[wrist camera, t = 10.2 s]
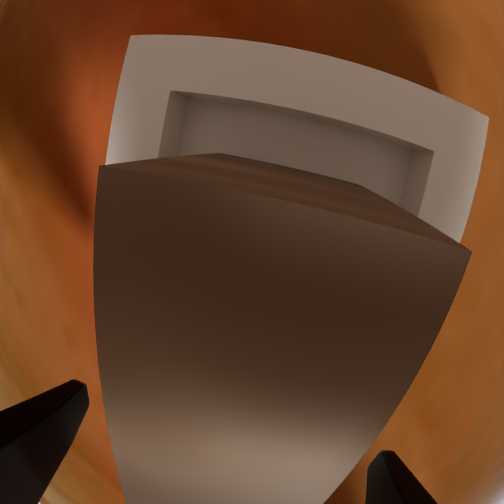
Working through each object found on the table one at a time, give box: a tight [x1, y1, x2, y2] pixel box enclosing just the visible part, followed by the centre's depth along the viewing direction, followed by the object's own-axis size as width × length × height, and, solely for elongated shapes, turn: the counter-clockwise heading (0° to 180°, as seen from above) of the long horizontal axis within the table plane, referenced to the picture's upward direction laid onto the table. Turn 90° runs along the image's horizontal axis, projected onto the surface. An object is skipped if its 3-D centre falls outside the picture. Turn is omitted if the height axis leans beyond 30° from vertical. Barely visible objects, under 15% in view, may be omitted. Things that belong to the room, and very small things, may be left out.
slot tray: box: [106, 35, 489, 243], centre depth 11 cm, size 20×10×2 cm, turn 168°
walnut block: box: [93, 153, 472, 504], centre depth 8 cm, size 14×4×6 cm, turn 168°
